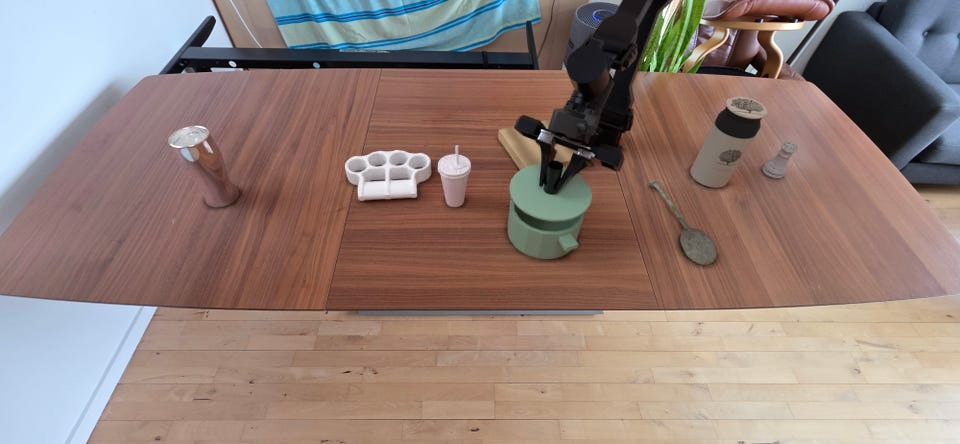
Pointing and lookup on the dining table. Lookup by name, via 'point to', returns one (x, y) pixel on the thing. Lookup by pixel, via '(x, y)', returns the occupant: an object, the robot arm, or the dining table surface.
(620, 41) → the robot arm
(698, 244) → the soupspoon
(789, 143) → the rook chess piece
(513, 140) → the board
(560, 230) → the pot
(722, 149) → the travel mug
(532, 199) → the lid
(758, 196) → the dining table surface
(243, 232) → the dining table surface
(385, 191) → the knuckle duster
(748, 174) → the dining table surface
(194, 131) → the beer glass
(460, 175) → the smoothie
